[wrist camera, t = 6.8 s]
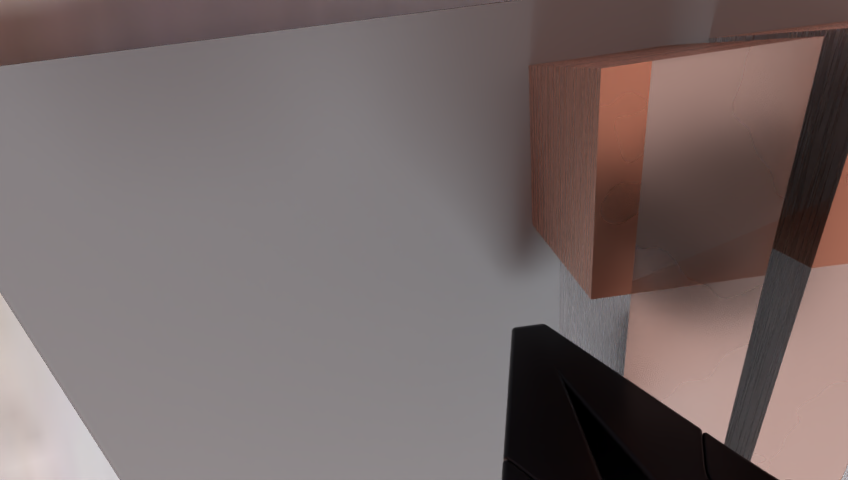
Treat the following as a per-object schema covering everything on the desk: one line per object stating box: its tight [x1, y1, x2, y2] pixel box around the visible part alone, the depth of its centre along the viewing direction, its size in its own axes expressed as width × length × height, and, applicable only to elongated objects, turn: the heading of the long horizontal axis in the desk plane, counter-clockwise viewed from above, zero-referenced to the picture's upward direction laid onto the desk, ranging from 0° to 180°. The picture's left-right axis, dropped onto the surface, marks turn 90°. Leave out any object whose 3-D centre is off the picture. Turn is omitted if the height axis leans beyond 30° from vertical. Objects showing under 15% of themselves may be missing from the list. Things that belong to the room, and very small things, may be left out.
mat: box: [0, 0, 848, 480], centre depth 12 cm, size 22×20×1 cm
